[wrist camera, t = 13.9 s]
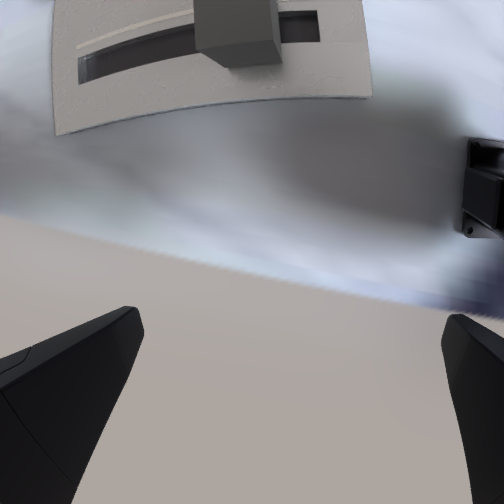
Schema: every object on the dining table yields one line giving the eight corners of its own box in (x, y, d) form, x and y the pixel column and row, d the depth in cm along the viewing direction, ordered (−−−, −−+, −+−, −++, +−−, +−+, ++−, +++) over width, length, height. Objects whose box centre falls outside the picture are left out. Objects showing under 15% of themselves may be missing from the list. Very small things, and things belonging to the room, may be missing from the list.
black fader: (277, -1, 13) (264, -48, 8) (284, 66, 15) (273, 39, 10) (225, 5, 14) (191, -36, 9) (230, 71, 16) (195, 49, 10)
